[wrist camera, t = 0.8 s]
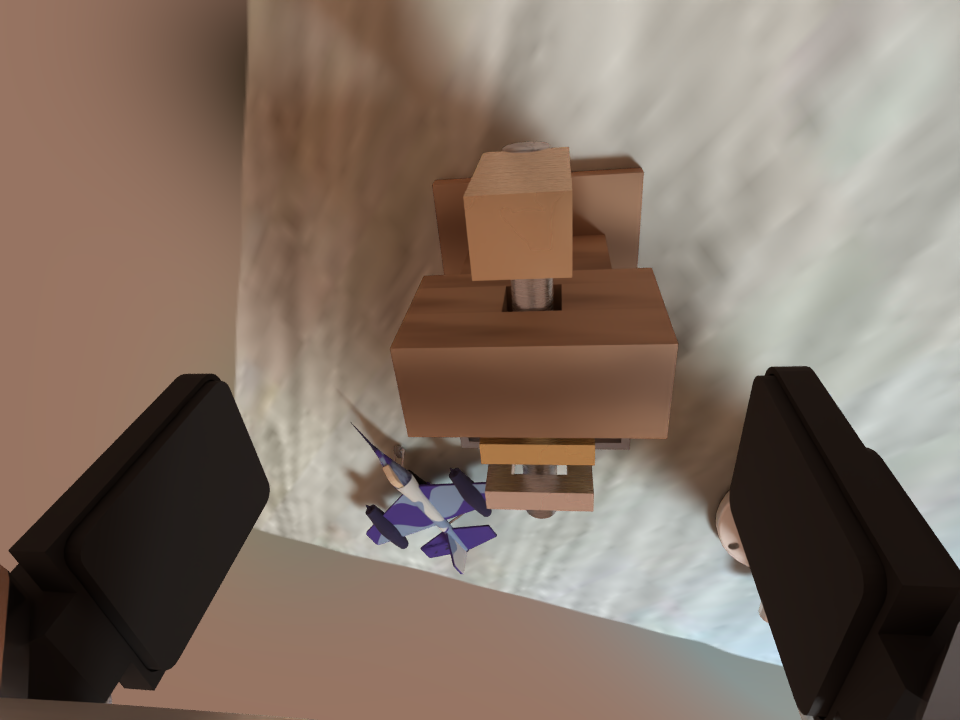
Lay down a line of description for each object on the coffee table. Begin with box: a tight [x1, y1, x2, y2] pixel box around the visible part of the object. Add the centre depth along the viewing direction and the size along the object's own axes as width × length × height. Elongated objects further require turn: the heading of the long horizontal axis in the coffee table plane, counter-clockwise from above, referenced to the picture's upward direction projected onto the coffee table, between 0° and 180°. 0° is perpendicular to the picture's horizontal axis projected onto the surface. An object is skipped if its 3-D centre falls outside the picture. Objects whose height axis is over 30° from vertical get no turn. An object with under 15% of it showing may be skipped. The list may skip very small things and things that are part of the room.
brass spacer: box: [479, 437, 595, 465], centre depth 32 cm, size 1×6×6 cm, turn 95°
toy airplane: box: [352, 424, 497, 574], centre depth 46 cm, size 13×14×4 cm
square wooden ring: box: [485, 464, 594, 511], centre depth 34 cm, size 1×6×6 cm, turn 95°
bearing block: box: [390, 168, 678, 439], centre depth 29 cm, size 8×12×14 cm
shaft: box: [463, 141, 572, 519], centre depth 27 cm, size 22×4×8 cm, turn 5°
